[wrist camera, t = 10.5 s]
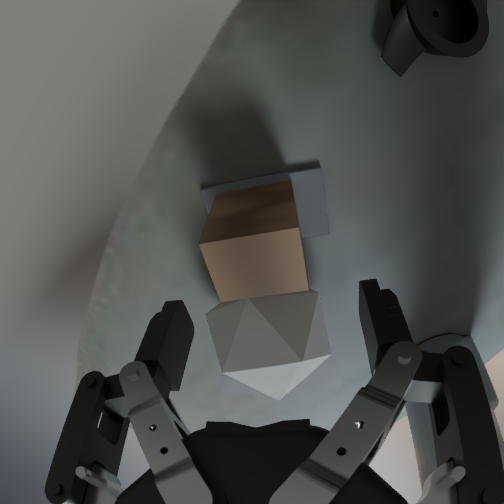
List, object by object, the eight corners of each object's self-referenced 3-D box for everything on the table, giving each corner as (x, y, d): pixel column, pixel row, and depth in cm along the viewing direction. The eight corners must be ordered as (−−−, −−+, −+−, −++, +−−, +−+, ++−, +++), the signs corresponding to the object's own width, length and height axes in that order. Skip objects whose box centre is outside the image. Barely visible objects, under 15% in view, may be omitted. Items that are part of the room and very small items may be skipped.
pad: (320, 166, 20) (321, 168, 19) (328, 231, 22) (329, 234, 22) (201, 188, 21) (200, 190, 21) (221, 249, 24) (220, 252, 23)
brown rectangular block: (291, 180, 20) (298, 227, 15) (300, 232, 22) (308, 290, 17) (216, 194, 21) (198, 244, 16) (231, 244, 23) (220, 302, 18)
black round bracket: (339, -32, 12) (350, -44, 10) (467, -34, 10) (489, -40, 7) (379, 78, 16) (396, 82, 14) (496, 64, 14) (520, 69, 11)
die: (194, 289, 27) (209, 404, 24) (220, 251, 19) (243, 418, 16) (283, 284, 30) (300, 388, 27) (335, 250, 22) (362, 388, 19)
